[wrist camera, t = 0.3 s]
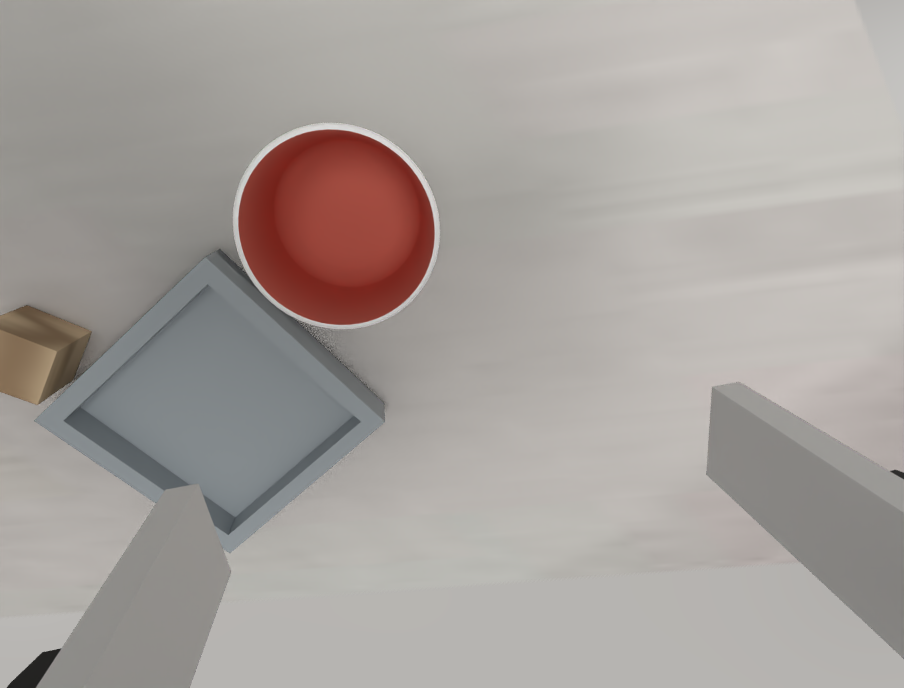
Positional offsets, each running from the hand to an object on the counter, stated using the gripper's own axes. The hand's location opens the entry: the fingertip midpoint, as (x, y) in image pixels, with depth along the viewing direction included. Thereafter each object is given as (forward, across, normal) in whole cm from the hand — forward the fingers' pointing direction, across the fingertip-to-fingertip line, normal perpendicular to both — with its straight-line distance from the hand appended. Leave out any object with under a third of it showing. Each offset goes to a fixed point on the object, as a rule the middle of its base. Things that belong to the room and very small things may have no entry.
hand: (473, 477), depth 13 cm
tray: (+24, -15, -7) cm, 29 cm away
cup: (+25, -3, +5) cm, 26 cm away
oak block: (+25, -25, -1) cm, 35 cm away
